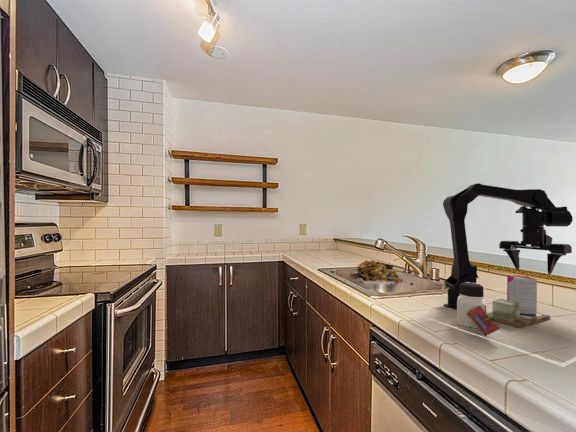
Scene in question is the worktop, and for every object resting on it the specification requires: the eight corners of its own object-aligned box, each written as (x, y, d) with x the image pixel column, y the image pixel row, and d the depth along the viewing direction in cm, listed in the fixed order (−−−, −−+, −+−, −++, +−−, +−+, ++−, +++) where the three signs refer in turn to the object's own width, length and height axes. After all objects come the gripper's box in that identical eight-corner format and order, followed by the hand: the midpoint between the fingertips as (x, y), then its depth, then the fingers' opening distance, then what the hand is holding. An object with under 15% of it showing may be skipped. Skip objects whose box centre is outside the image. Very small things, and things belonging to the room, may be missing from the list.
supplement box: (537, 316, 92) (537, 279, 92) (516, 315, 93) (516, 278, 93) (526, 310, 97) (526, 275, 98) (506, 309, 99) (506, 274, 99)
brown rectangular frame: (519, 328, 85) (519, 307, 85) (483, 317, 94) (483, 298, 94) (550, 318, 93) (550, 299, 93) (514, 309, 102) (513, 292, 102)
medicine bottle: (486, 330, 84) (486, 287, 84) (456, 325, 87) (456, 284, 87) (485, 322, 90) (485, 282, 90) (458, 318, 93) (458, 280, 94)
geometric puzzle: (504, 334, 79) (498, 303, 80) (498, 341, 74) (492, 308, 75) (473, 331, 84) (468, 302, 85) (466, 338, 79) (461, 307, 80)
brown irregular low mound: (350, 272, 176) (350, 254, 176) (394, 273, 173) (394, 255, 173) (358, 286, 141) (358, 263, 141) (414, 287, 138) (414, 264, 139)
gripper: (579, 226, 98) (579, 274, 98) (514, 225, 115) (514, 266, 114) (563, 227, 93) (563, 277, 93) (498, 225, 109) (498, 268, 109)
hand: (533, 271), depth 102 cm, fingers open, 9 cm apart
